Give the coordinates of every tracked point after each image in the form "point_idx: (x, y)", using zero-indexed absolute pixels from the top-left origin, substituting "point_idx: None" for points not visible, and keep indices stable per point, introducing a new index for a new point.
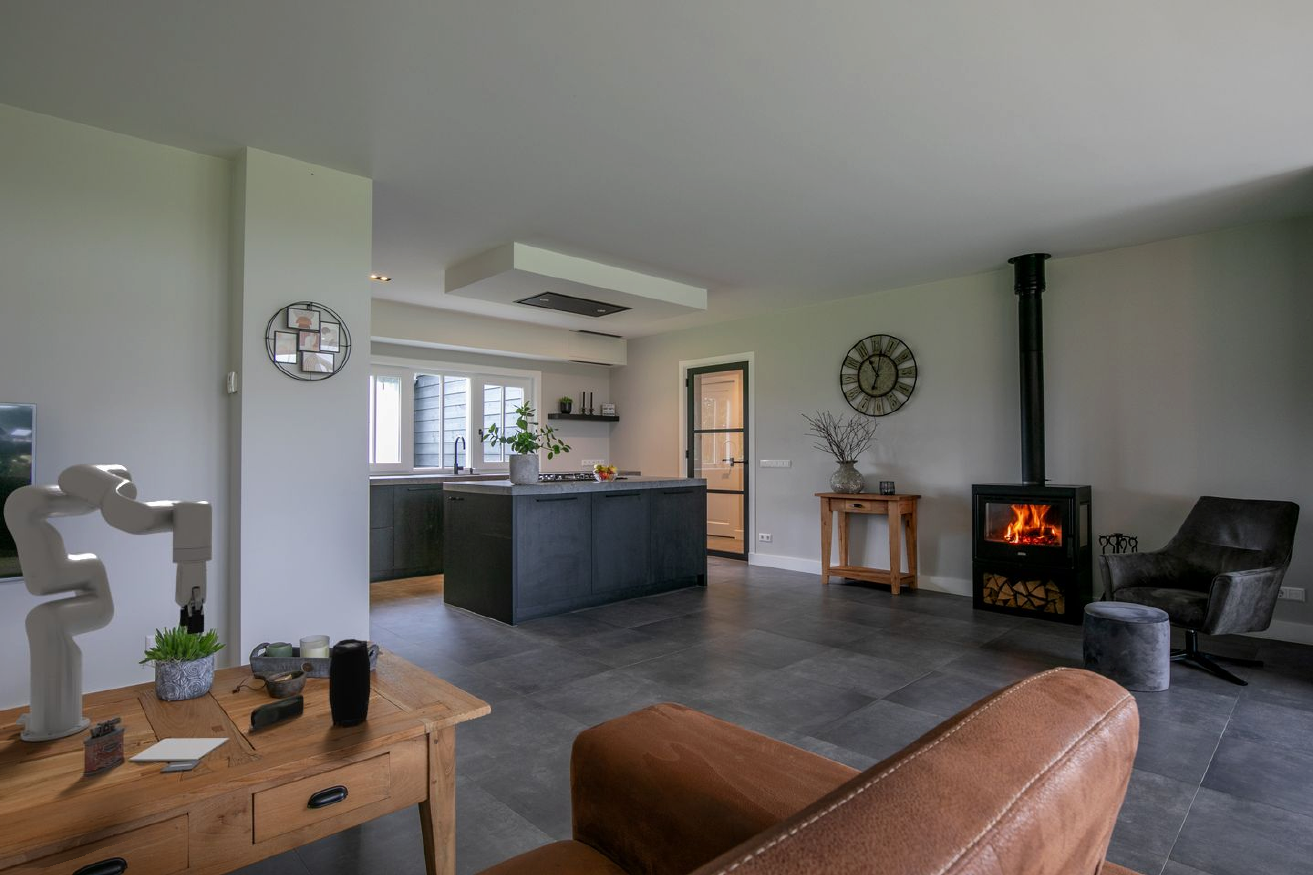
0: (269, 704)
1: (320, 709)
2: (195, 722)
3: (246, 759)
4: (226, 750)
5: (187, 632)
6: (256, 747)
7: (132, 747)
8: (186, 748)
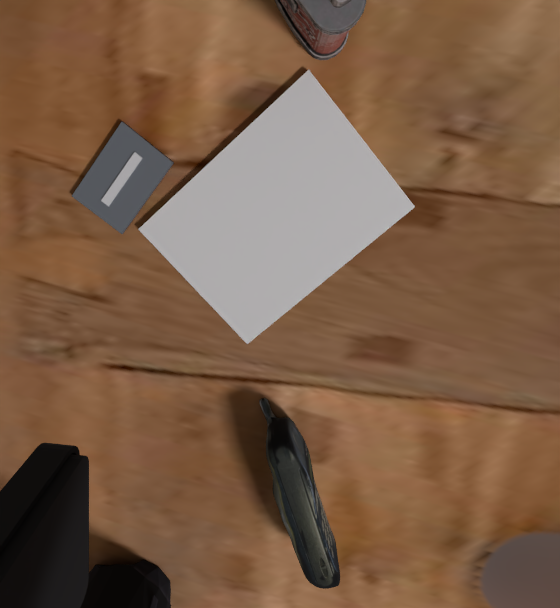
0: (290, 497)
1: (292, 580)
2: (504, 318)
3: (46, 327)
4: (163, 310)
5: (36, 452)
6: (122, 374)
7: (437, 110)
8: (261, 230)
